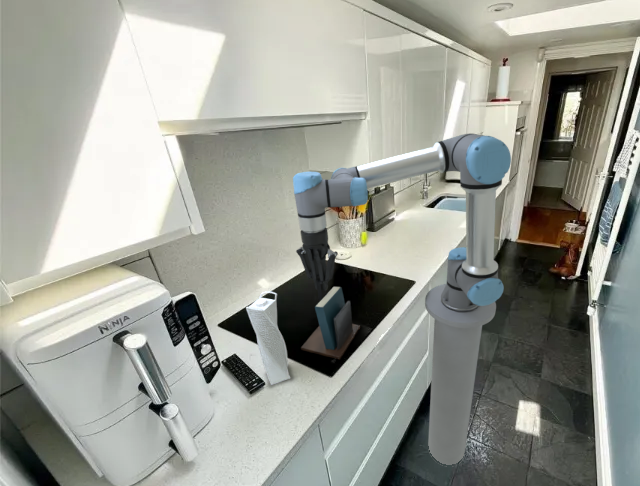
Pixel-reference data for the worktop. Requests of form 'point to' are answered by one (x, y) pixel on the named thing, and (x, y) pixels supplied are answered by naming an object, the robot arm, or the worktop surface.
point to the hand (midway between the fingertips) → (322, 297)
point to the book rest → (343, 335)
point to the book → (329, 315)
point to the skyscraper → (269, 338)
